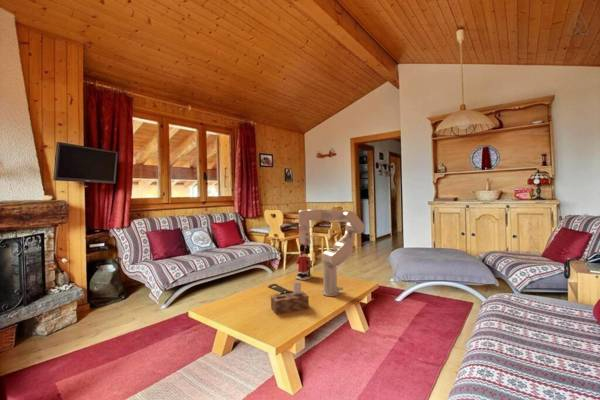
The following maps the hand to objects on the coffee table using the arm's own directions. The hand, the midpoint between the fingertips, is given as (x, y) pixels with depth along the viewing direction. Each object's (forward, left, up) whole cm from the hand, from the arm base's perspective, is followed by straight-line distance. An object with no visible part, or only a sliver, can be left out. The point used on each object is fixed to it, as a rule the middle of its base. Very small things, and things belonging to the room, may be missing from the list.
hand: (304, 252), depth 210 cm
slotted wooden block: (+16, +12, -32) cm, 38 cm away
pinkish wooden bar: (+11, +12, -28) cm, 33 cm away
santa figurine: (-18, -48, -32) cm, 61 cm away
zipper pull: (+13, -11, -33) cm, 37 cm away
